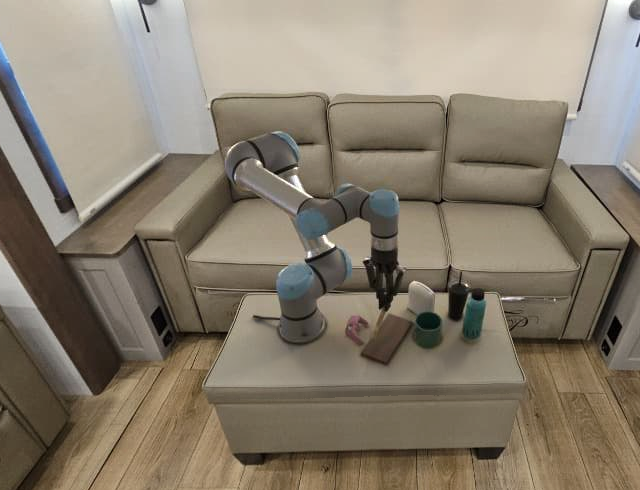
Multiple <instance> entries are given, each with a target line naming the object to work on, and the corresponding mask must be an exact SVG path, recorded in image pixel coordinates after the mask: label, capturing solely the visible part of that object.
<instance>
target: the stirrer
mask: <svg viewBox="0 0 640 490" xmlns="http://www.w3.org/2000/svg"><path fill="white" fill-rule="evenodd" d="M386 313H387V312H385V303H384V305H383V308H382V309H381V310H380V313H379V316H378V318H377V321H376V323H375V326H374V328H373V331H372V333H371V336H370V339H372V338H373V339H375V338H376V336H377V333H378V331H379V328H380V326H381V325H382V323H383V321H384V319H385V318H384V317H385V315H386Z"/></svg>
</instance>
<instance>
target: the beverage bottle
mask: <svg viewBox="0 0 640 490" xmlns="http://www.w3.org/2000/svg"><path fill="white" fill-rule="evenodd" d="M485 294H486V293H485V290H484V289H482V288H480V287H474V288H473V289H472V291H471V294H470V296H468V297H467V301H466V304H465V309H464V317H463V322H462V327H461V334H462V336H463V337H464V339H467V340H469V341H474V340H478V339H479V338H480V336H481V334H482V330H483V326H484V324H483V323H484V319H485V318H484V317H485V315H486V313H485V312H486V307H487V301H486V299H485Z"/></svg>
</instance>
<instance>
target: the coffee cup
mask: <svg viewBox="0 0 640 490" xmlns="http://www.w3.org/2000/svg"><path fill="white" fill-rule="evenodd" d="M413 325H414V326H413V339H414V341H415V343H416V344H417V345H418V346H420V347H422V348H433V347H436V346H437V345H439V343H441V340H442V332H443V330H442V329H443V319H442V317H441V316H440V315H439V314H438V313H437V312H435V311H434V312H429V311H425V312H421V313H419V314H418V315H417V314H416V316H415V317H414V323H413Z"/></svg>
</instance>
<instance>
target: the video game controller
mask: <svg viewBox="0 0 640 490" xmlns="http://www.w3.org/2000/svg"><path fill="white" fill-rule="evenodd" d="M360 325H362V326H365V327H367V326H369V321H368V320H367V319H366V318H364V317H363V316H362V315H360V314H357V313H355V314H351V315H350V317H349V318H348V320H347V323H346V327H345V328H344V334H345V336H346V337H347V338H349V339H350V340H351V341H352V342H354V343H356V344H360V345H361V344H362V343H363V339H362V338H360V337H359V336H358V335H357V334H358V333H357V331H359V330H360Z"/></svg>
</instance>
